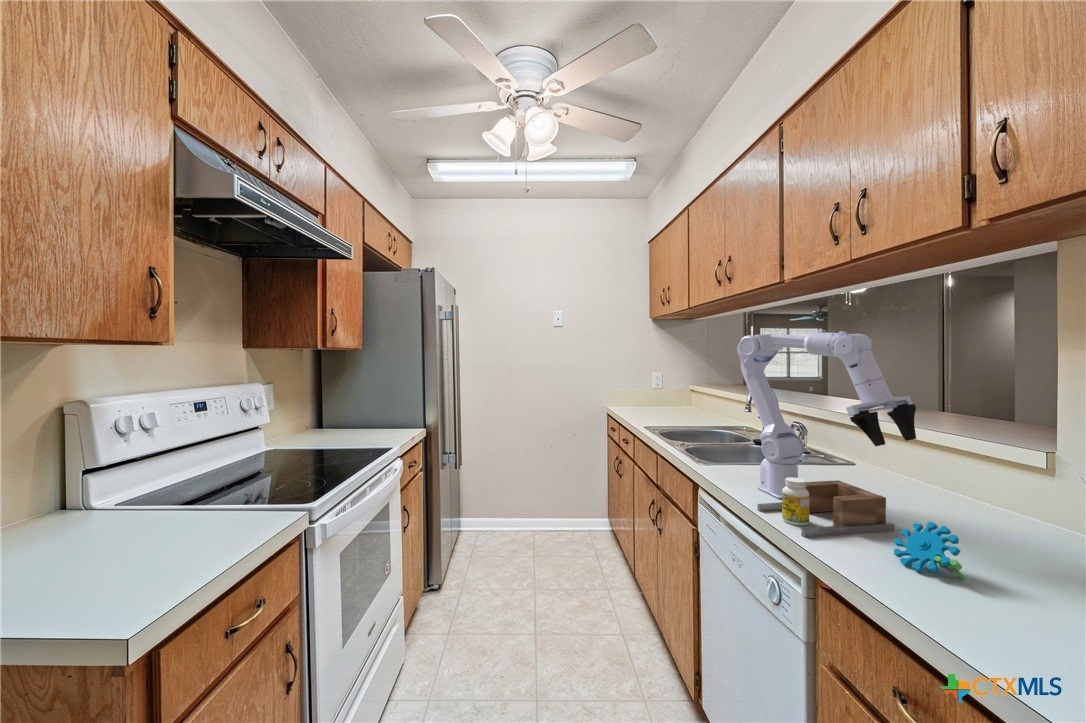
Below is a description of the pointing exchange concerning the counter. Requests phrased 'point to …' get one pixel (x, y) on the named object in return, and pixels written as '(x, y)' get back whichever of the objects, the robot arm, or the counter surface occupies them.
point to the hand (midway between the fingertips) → (895, 442)
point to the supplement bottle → (795, 502)
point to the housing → (846, 503)
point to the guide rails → (833, 529)
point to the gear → (929, 549)
